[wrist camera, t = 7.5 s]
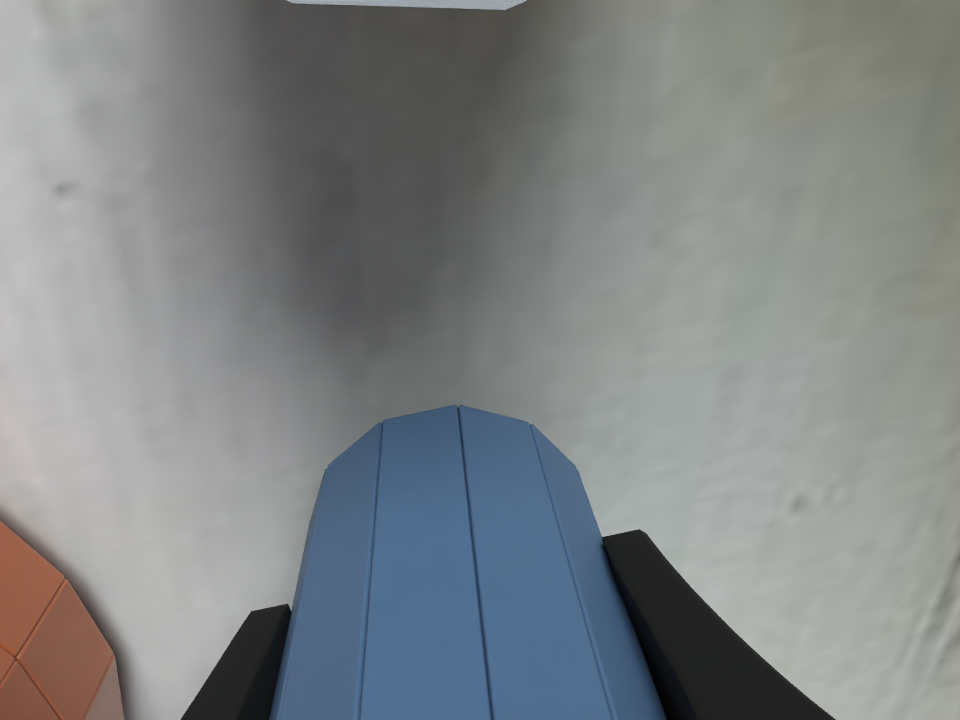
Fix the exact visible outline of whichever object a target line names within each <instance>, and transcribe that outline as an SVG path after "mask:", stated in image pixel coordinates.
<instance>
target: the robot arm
mask: <svg viewBox="0 0 960 720" xmlns="http://www.w3.org/2000/svg"><path fill="white" fill-rule="evenodd" d="M602 541H603V547H604V550H605V552H606V555H607V558H608V561H609V564H610V567H611V569H612V572H613V575H614V578H615V581H616V583H617V586H618V589H619V592H620V594H621V597H622V599H623V601H624V604H625V607H626V609H627V612H628V615H629V617H630V619H631V622H632V624H633V626H634V629H635V631H636V634H637V637H638V640H639V643H640V645H641V648H642V651H643V654H644V657H645V659H646V662H647V665H648V668H649V671H650V673H651V676H652V679H653V682H654V685H655V687H656V690H657V693H658V696H659V699H660V701H661V704H662V707H663V710H664V713H665V715H666V718H667V720H835V719H834V718H833V717H832V716H830V715H829V714H828V713H827V712H825V711H824V710H823V709H822V708H820V707H819V706H818V705H817V704H815V703H814V702H813V701H812V700H810V699H809V698H808V697H807V696H806V695H804V694H803V693H802V692H801V691H800V690H798V689H797V688H796V687H795V686H794V685H792V684H791V683H790V682H789V681H788V680H787V679H786V678H784V677H783V676H782V675H781V674H780V673H779V672H777V671H776V670H775V669H774V668H773V667H772V666H771V665H770V664H769V663H768V662H766V661H765V660H764V659H763V658H762V657H761V656H760V655H759V654H758V653H756V652H755V651H754V650H753V649H752V648H751V647H750V646H749V645H748V644H747V643H746V642H745V641H744V640H743V639H742V638H740V637H739V636H738V635H737V634H736V633H735V632H734V631H733V630H732V629H731V628H730V627H729V626H728V625H727V624H726V623H725V622H724V621H723V620H722V619H721V618H720V617H719V616H718V615H717V614H716V613H715V612H714V611H713V610H712V609H711V608H710V607H709V606H708V605H707V604H706V603H705V602H704V601H703V599H702V598H701V597H700V596H699V595H698V594H697V593H696V592H695V591H694V590H693V589H692V588H691V587H690V585H689V584H688V583H687V582H686V581H685V580H684V579H683V578H682V577H681V575H680V574H679V573H678V572H677V571H676V570H675V569H674V567H673V566H672V565H671V564H670V563H669V562H668V560H667V559H666V558H665V557H664V556H663V554H662V553H661V552H660V551H659V549H658V548H657V547H656V545H655V544H654V543H653V542H652V540H651V539H650V538H649V536H648V535H647V534H646V533H645V532H643V531H641V530H640V529H639V530H634V531H629V532H625V533H620V534H615V535H610V536H606V537H602ZM290 616H291V610H290V607H289V605H288V604H284V605H279V606H275V607H270V608H265V609H261V610H256V611H251V612H250V614H249V615H248V617H247V618H246V620H245V621H244V623H243V624H242V626H241V627H240V629H239V630H238V632H237V634H236V635H235V637H234V638H233V640H232V641H231V643H230V644H229V646H228V648H227V649H226V651H225V652H224V654H223V655H222V657H221V659H220V660H219V662H218V663H217V665H216V666H215V668H214V669H213V671H212V673H211V674H210V676H209V677H208V679H207V680H206V682H205V683H204V685H203V687H202V688H201V690H200V691H199V693H198V694H197V696H196V697H195V699H194V700H193V702H192V703H191V705H190V706H189V708H188V709H187V711H186V712H185V714H184V715H183V717H182V718H181V720H269V717H270V713H271V708H272V703H273V698H274V693H275V688H276V684H277V679H278V674H279V669H280V665H281V660H282V655H283V650H284V645H285V641H286V636H287V631H288V626H289V621H290Z"/></svg>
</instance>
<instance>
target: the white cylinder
mask: <svg viewBox="0 0 960 720" xmlns="http://www.w3.org/2000/svg"><path fill="white" fill-rule="evenodd" d="M287 1H289V2H291V3H301V4H333V5H365V6H397V7H429V8H461V9H493V10H506V9H508V8H511V7H513V6H515V5H518V4H520V3H522V2H525V1H527V0H287Z"/></svg>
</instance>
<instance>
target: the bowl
mask: <svg viewBox="0 0 960 720" xmlns="http://www.w3.org/2000/svg"><path fill="white" fill-rule="evenodd" d="M0 720H125V719H124V712H123V706H122V699H121V693H120V686H119V679H118V673H117V666H116V659H115V655H114V654H113V650H112V649H111V647H110V646H109V644H108V642H107V641H106V639H105V638H104V636H103V635H102V633H101V631H100V630H99V628H98V627H97V625H96V623H95V622H94V620H93V619H92V617H91V615H90V614H89V612H88V611H87V609H86V607H85V606H84V604H83V603H82V601H81V599H80V598H79V596H78V595H77V593H76V591H75V590H74V588H73V587H72V585H71V583H70V582H69V580H67V579H65V576H64V575H63V574H62V573H61V572H60V571H59V570H57V569H56V568H55V567H54V566H53V565H52V564H50V563H49V562H48V561H47V560H46V559H45V558H43V557H42V556H41V555H40V554H39V553H38V552H36V551H35V550H34V549H33V548H32V547H31V546H29V545H28V544H27V543H26V542H25V541H24V540H22V539H21V538H20V537H19V536H18V535H17V534H15V533H14V532H13V531H12V530H11V529H10V528H9V527H7V526H6V525H5V524H4V523H3V522H2V521H0Z"/></svg>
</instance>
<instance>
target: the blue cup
mask: <svg viewBox="0 0 960 720" xmlns="http://www.w3.org/2000/svg"><path fill="white" fill-rule="evenodd" d="M269 720H667V718H666V715H665V713H664V710H663V707H662V704H661V701H660V699H659V696H658V693H657V690H656V687H655V685H654V682H653V679H652V676H651V673H650V671H649V668H648V665H647V662H646V659H645V657H644V654H643V651H642V648H641V645H640V643H639V640H638V637H637V634H636V631H635V629H634V626H633V624H632V622H631V619H630V617H629V615H628V612H627V609H626V607H625V604H624V601H623V599H622V597H621V594H620V592H619V589H618V586H617V583H616V581H615V578H614V575H613V572H612V569H611V567H610V564H609V561H608V558H607V555H606V552H605V550H604V547H603V541H602V536H601V534H600V531H599V528H598V525H597V522H596V520H595V517H594V514H593V511H592V508H591V506H590V503H589V500H588V497H587V494H586V492H585V489H584V486H583V483H582V480H581V478H580V475H579V472H578V470H577V469H576V466H575V465H574V464H573V463H572V462H571V461H570V460H569V459H568V458H567V457H566V456H565V455H564V454H562V453H561V452H560V451H559V450H558V449H557V448H556V447H555V446H554V445H553V444H552V443H551V442H550V441H549V440H548V439H547V438H546V437H545V436H544V435H543V434H542V433H541V432H540V431H539V430H538V429H537V428H536V427H535V426H534V425H532V424H531V425H530V424H529V423H528V422H526V421H522V420H518V419H514V418H510V417H506V416H502V415H498V414H494V413H490V412H486V411H483V410H479V409H475V408H471V407H467V406H463V405H460V406H459V407H458V408H457V406H456V405H452V406H448V407H443V408H438V409H434V410H429V411H424V412H420V413H415V414H410V415H406V416H401V417H396V418H392V419H387V420H384V421H383V424H382V423H378V424H377V425H376V426H375V427H373V428H372V429H371V430H370V431H369V432H367V433H366V434H365V435H364V436H363V437H361V438H360V439H359V440H358V441H357V442H355V443H354V444H353V445H352V446H351V447H349V448H348V449H347V450H346V451H345V452H343V453H342V454H341V455H340V456H339V457H337V458H336V459H335V460H334V461H333V462H331V463H330V464H329V465H328V468H326V470H325V472H324V476H323V479H322V483H321V486H320V489H319V493H318V496H317V500H316V503H315V506H314V510H313V513H312V517H311V520H310V524H309V529H308V534H307V538H306V543H305V548H304V553H303V558H302V563H301V567H300V572H299V577H298V582H297V587H296V592H295V596H294V601H293V606H292V611H291V616H290V621H289V626H288V631H287V636H286V641H285V645H284V650H283V655H282V660H281V665H280V669H279V674H278V679H277V684H276V688H275V693H274V698H273V703H272V708H271V713H270V717H269Z"/></svg>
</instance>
